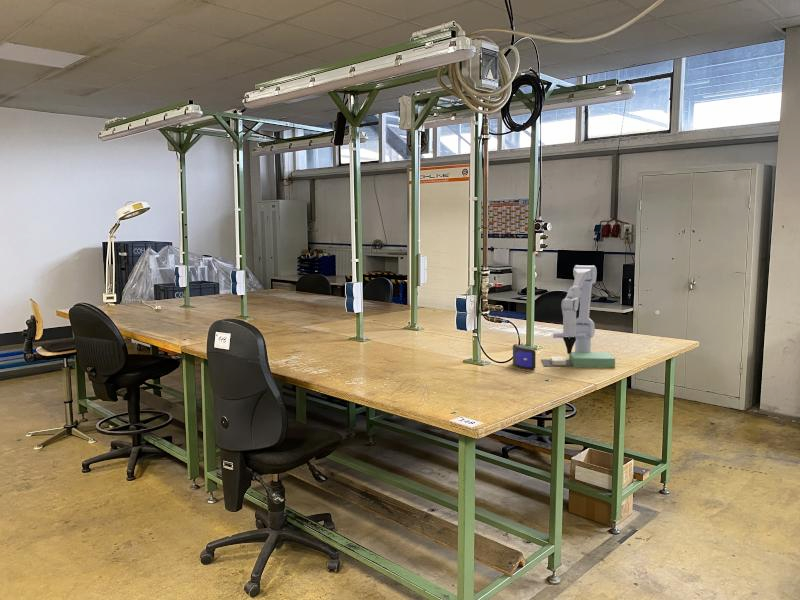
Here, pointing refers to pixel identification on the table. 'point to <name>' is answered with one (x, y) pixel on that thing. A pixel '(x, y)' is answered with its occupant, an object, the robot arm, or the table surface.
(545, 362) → the mat
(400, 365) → the table surface
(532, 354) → the framed blue square panel
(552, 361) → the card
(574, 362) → the block
